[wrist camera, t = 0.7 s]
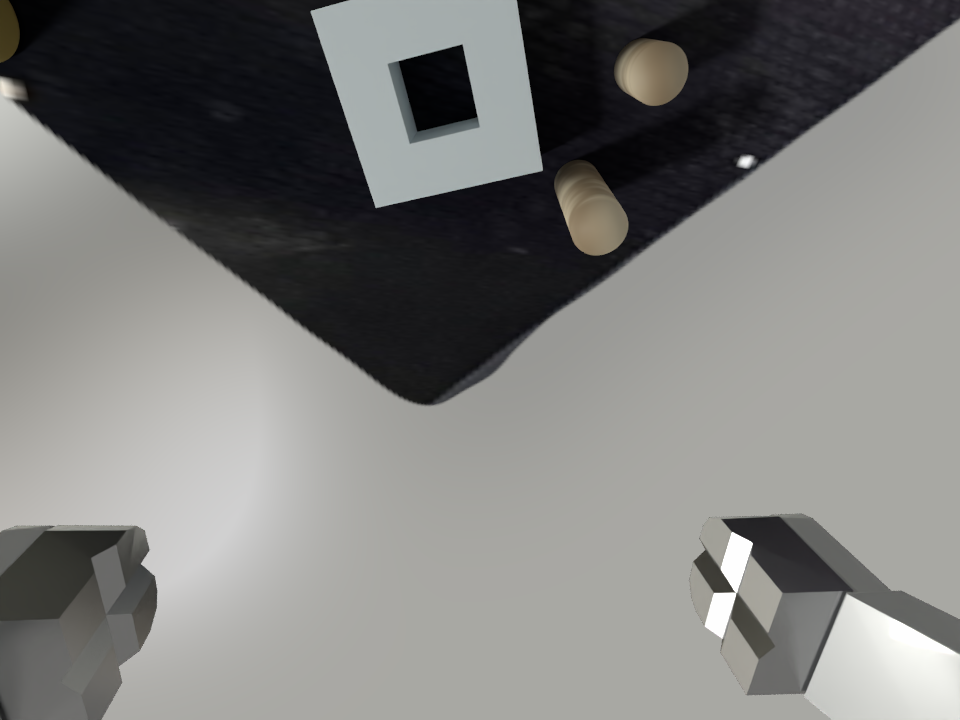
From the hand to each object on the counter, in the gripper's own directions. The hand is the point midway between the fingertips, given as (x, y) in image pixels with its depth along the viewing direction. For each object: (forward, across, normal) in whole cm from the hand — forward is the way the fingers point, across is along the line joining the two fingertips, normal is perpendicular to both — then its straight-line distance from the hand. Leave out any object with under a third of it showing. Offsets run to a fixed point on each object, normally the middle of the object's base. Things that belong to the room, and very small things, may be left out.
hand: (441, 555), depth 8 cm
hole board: (+43, -1, -10) cm, 44 cm away
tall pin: (+43, -14, -4) cm, 45 cm away
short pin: (+40, -17, -13) cm, 46 cm away
